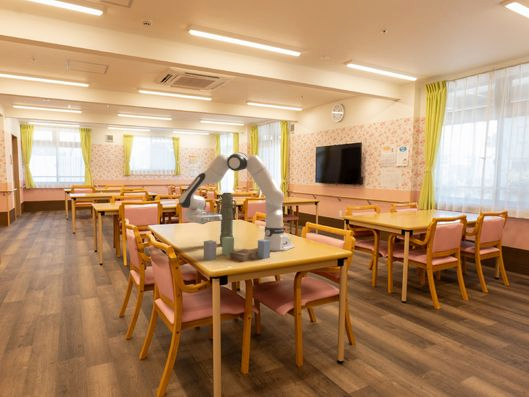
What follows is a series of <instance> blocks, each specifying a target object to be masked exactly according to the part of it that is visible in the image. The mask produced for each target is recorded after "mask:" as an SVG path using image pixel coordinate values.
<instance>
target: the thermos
mask: <svg viewBox="0 0 529 397" xmlns="http://www.w3.org/2000/svg"><path fill="white" fill-rule="evenodd" d="M220 202H221V203H220ZM217 203H218V204H217V214H221V215H222V220H221V221H220V235H219V245H220V246H221V247H222V237H233V238H234V234H233V231H234V230H233V228H234V226H233V225H234V222H233V220H234V216H236V214H237V212H236V210H237V209H236V208H237V202H236V200H235V199H234V197H233V194H232V193H231V192H223V193H222V195H221V198H220V199H219V200H218V202H217ZM220 205H221V208H220ZM233 205H234V206H233Z"/></svg>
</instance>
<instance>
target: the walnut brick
mask: <svg viewBox="0 0 529 397" xmlns="http://www.w3.org/2000/svg"><path fill="white" fill-rule="evenodd" d="M229 256H230V260H233V261H238V262H241V263H245V262H249V261H253V260H256V259H259V258H258V251H254V250H250V249H245V248H244V249H240V250H239V249H238V250H236V251H235V250H234V252H231V253H230V255H229Z"/></svg>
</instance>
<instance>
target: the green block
mask: <svg viewBox="0 0 529 397" xmlns="http://www.w3.org/2000/svg"><path fill="white" fill-rule="evenodd" d="M231 252H235V237H234V236H233V237H222V246H221V255H224V256H230V253H231Z"/></svg>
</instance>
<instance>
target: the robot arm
mask: <svg viewBox="0 0 529 397" xmlns="http://www.w3.org/2000/svg"><path fill="white" fill-rule="evenodd" d="M229 170H231V171H233V172H239V171H243V170H247V172H248V173H249V174H250V176H251V177H252V179H253V181H254V182H255V183H256V185H257V187H258V188H259V190H260V191H261V194H262V195H263V197H265V200H264V201H265V202H264V205H265V227H264V235H263V237H264V238H263V239H265V240H270V251H274V252H275V251H277V252H278V251H279V252H280V251H281V252H286V251H288V250H291V249H293V248H295V245H294V244H293V243H292V240H291V237H289V235H288V234H286V233H285V231H287V229H288V227H287V226H283V224H284V221H283V218H284V212H283V204H284V201H285V194H284V192H283V191H282V189H281V187H280V186H279V185H278V183H277V181H276V180H275V178H274V177H273V175H272V174H271V172H270V171H269V169H268V168H267V165H266V164H265V163H264V161H263V160H262V159H261V158H260V157H259V156H258V155H256V154H252V155H249V156H247V155H246V154H245V153H243V152H235V153H232V154H230V155H229V156H227V155H226V154H218V155H217V156H216V157H215V158H214V160H212V162H211V163H210V165H209V166H208V168H207V169H206V170H204V171H203V172H201V173H199V174H198V175H197V176H196V177H195V178H194V180H193V181H192V182H191V183H190V184H189V186H188V187H187V188H186V189H185V190H184V191H183V192H182V193H181V194H180V195H179V197H178V203H179V205H180V207H181V208H185V209H184V211H183V217H184V220H186V221H188V222H190V223H194V224H200V225H205V224H208V223H211V222H218V221H220V222H221V220H222V215H221V214H220V213H219V214H218V212H214V211H207V210H206V207H207V202H206V199H205V197H203V196H200V195H197V194H195V193H197V192H198V190H199V189H200V188H201V187H203V186H204V185H205V186H206V185H212V184H213V185H215V184H218V183H219V182H221V181H222V179H223V178H224V177H225V175H226V173H227V172H228V171H229Z"/></svg>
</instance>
